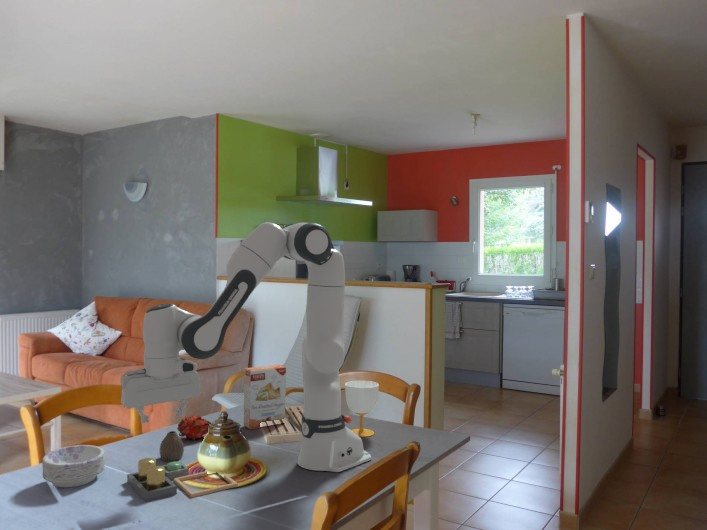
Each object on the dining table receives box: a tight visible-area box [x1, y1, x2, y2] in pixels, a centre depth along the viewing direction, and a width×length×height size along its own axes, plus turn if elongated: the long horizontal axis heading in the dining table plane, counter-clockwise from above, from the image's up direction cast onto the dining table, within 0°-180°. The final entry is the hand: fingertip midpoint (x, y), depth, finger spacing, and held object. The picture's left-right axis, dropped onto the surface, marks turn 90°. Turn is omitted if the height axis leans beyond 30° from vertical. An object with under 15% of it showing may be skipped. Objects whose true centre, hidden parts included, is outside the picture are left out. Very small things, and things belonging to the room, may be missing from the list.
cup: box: [344, 379, 380, 438], centre depth 209 cm, size 12×12×17 cm
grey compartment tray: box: [126, 471, 178, 502], centre depth 158 cm, size 8×15×3 cm, turn 36°
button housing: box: [162, 462, 190, 481], centre depth 167 cm, size 6×6×3 cm
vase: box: [159, 430, 185, 463], centre depth 180 cm, size 7×7×9 cm
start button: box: [166, 461, 182, 472], centre depth 167 cm, size 4×4×3 cm
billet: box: [147, 465, 165, 491], centre depth 155 cm, size 4×4×6 cm
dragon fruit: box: [176, 414, 212, 441], centre depth 201 cm, size 8×8×12 cm
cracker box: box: [243, 364, 287, 430], centre depth 217 cm, size 14×6×21 cm, turn 124°
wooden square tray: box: [173, 470, 238, 498], centre depth 161 cm, size 13×13×2 cm
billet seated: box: [137, 457, 157, 482], centre depth 161 cm, size 4×4×6 cm
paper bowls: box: [42, 444, 106, 488], centre depth 163 cm, size 15×15×8 cm
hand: (162, 419), depth 158 cm, fingers open, 8 cm apart
